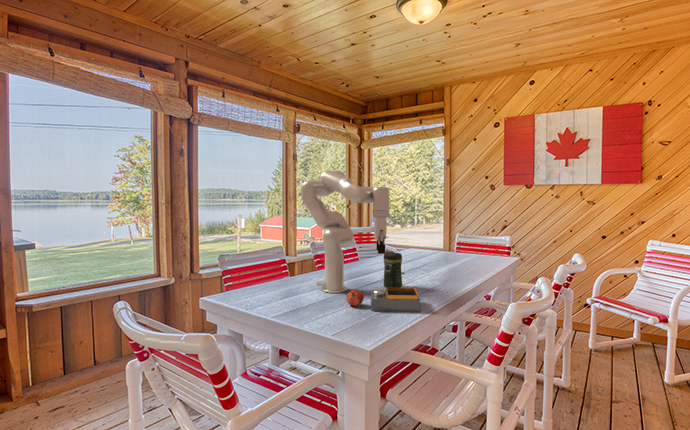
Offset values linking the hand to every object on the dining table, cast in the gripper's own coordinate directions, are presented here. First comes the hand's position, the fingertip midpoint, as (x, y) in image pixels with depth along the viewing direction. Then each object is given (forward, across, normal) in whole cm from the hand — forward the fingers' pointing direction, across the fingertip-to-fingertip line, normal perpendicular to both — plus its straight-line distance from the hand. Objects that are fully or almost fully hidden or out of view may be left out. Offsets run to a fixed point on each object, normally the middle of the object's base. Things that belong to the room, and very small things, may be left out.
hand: (380, 251), depth 158 cm
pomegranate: (+23, +8, -12) cm, 27 cm away
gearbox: (+22, +9, +5) cm, 25 cm away
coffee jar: (+23, -24, +8) cm, 34 cm away
